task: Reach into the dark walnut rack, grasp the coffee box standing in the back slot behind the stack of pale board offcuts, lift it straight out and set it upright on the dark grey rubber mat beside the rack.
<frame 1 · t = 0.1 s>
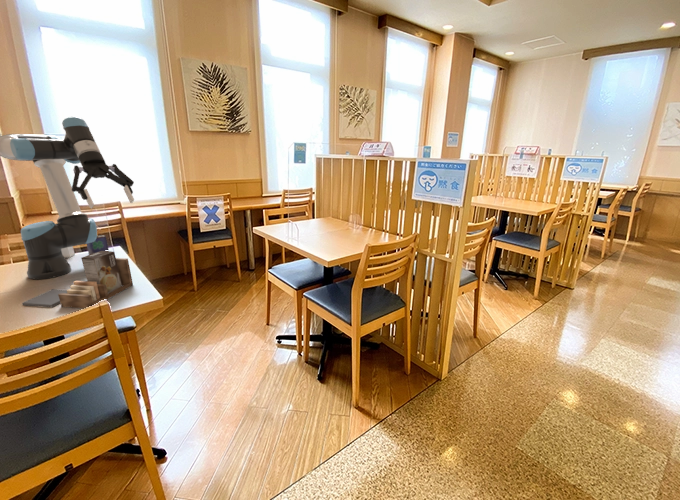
hand: (113, 203, 123), 36 cm above the table, tool tilted 35°, fingers open, 13 cm apart
flask: (99, 253, 178), on the table
walnut rack: (106, 291, 132), on the table
rubber mat: (52, 298, 125), on the table
offcut stack: (86, 302, 123), resting in walnut rack
coffee box: (107, 291, 132), resting in walnut rack
jar: (64, 256, 172), on the table
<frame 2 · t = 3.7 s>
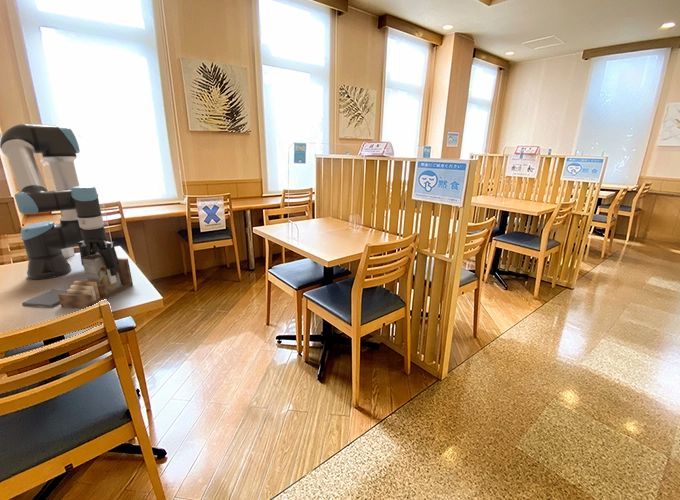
hand: (104, 282, 131), 4 cm above the table, tool pointing down, fingers closed on coffee box, 7 cm apart
coffee box: (106, 291, 132), resting in walnut rack, touching gripper
everything else where it was.
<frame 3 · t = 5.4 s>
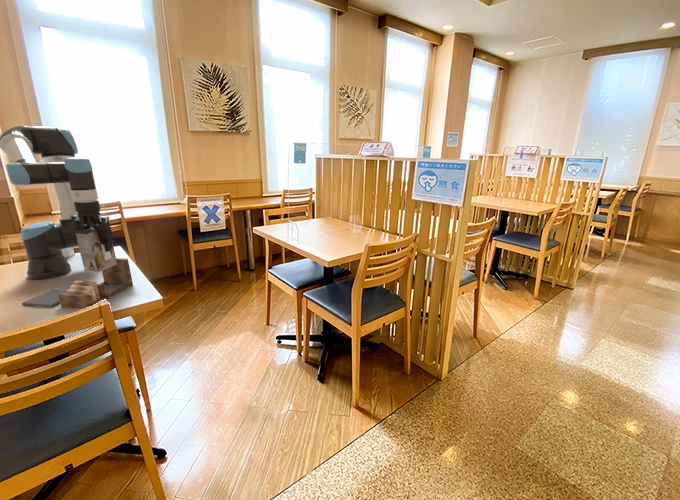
hand: (99, 258, 128), 14 cm above the table, tool pointing down, fingers closed on coffee box, 7 cm apart
coffee box: (101, 268, 129), point 10 cm above the table, touching gripper
everything else where it was.
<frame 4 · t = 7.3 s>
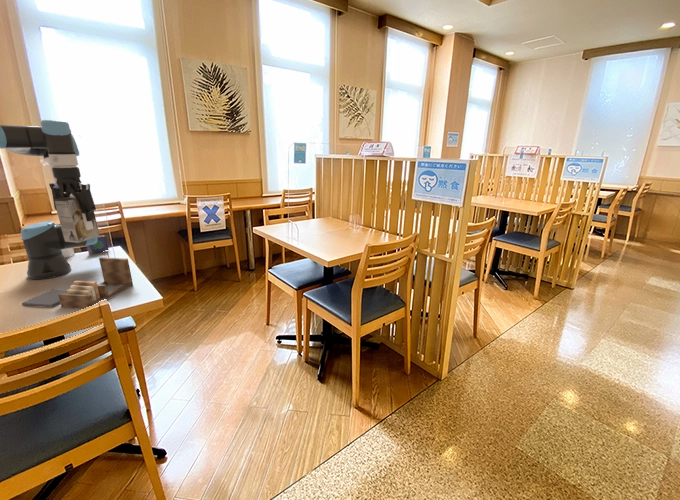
hand: (80, 228, 123), 27 cm above the table, tool pointing down, fingers closed on coffee box, 7 cm apart
coffee box: (82, 239, 124), point 22 cm above the table, touching gripper
everything else where it was.
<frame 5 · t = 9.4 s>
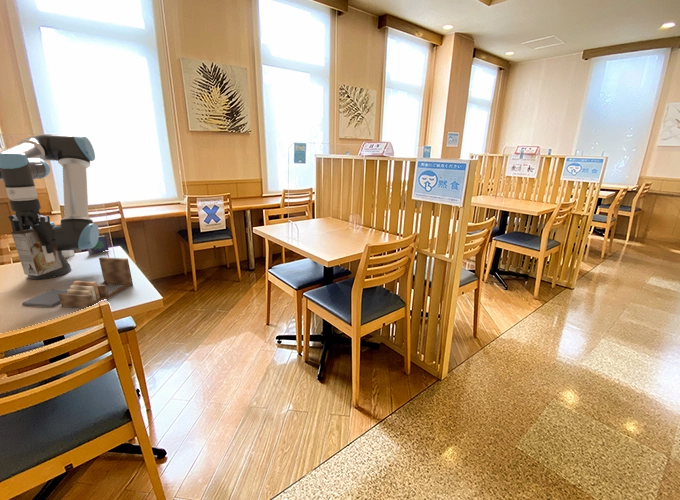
hand: (41, 260, 120), 16 cm above the table, tool pointing down, fingers closed on coffee box, 7 cm apart
coffee box: (44, 271, 121), point 12 cm above the table, touching gripper
everything else where it was.
when the fingers open (6 cm above the table, at t = 11.2 s): coffee box drops 1 cm, resting on rubber mat.
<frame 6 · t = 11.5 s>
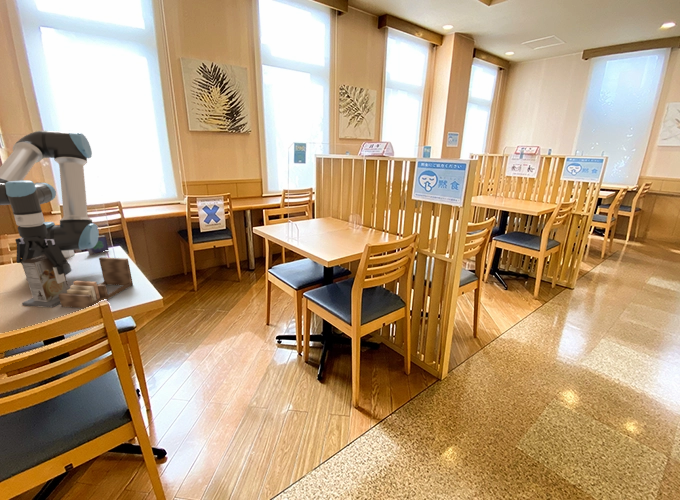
hand: (47, 281, 123), 7 cm above the table, tool pointing down, fingers open, 11 cm apart
coffee box: (52, 297, 125), point 1 cm above the table, touching rubber mat
everything else where it was.
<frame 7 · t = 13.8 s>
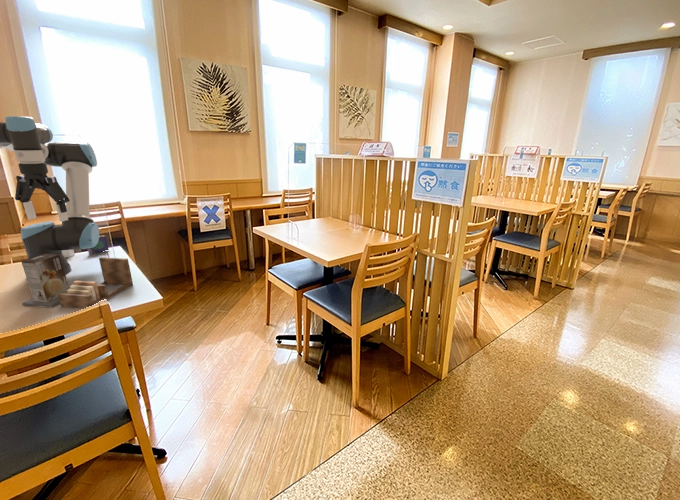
hand: (48, 219, 124), 29 cm above the table, tool pointing down, fingers open, 13 cm apart
nothing on the table moved.
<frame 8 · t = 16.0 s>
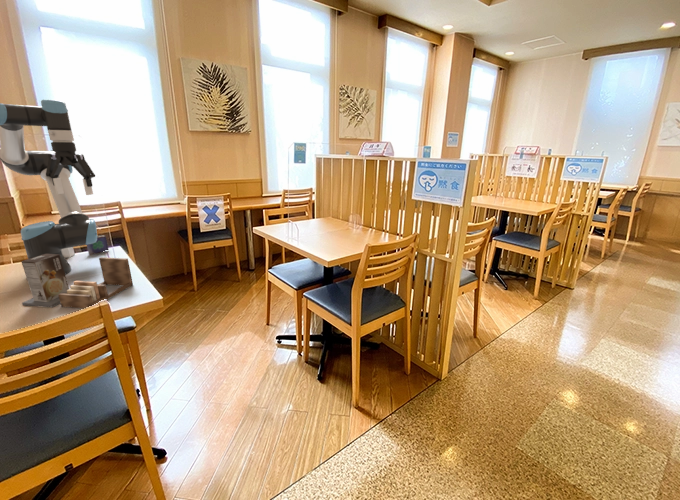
hand: (75, 194, 138), 37 cm above the table, tool pointing down, fingers open, 13 cm apart
nothing on the table moved.
at the end: coffee box inside the target area on the rubber mat (0.2 cm from its centre), point 0.8 cm above the rubber mat's base; coffee box tilted 0°; offcut stack moved 0.1 cm from its start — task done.
